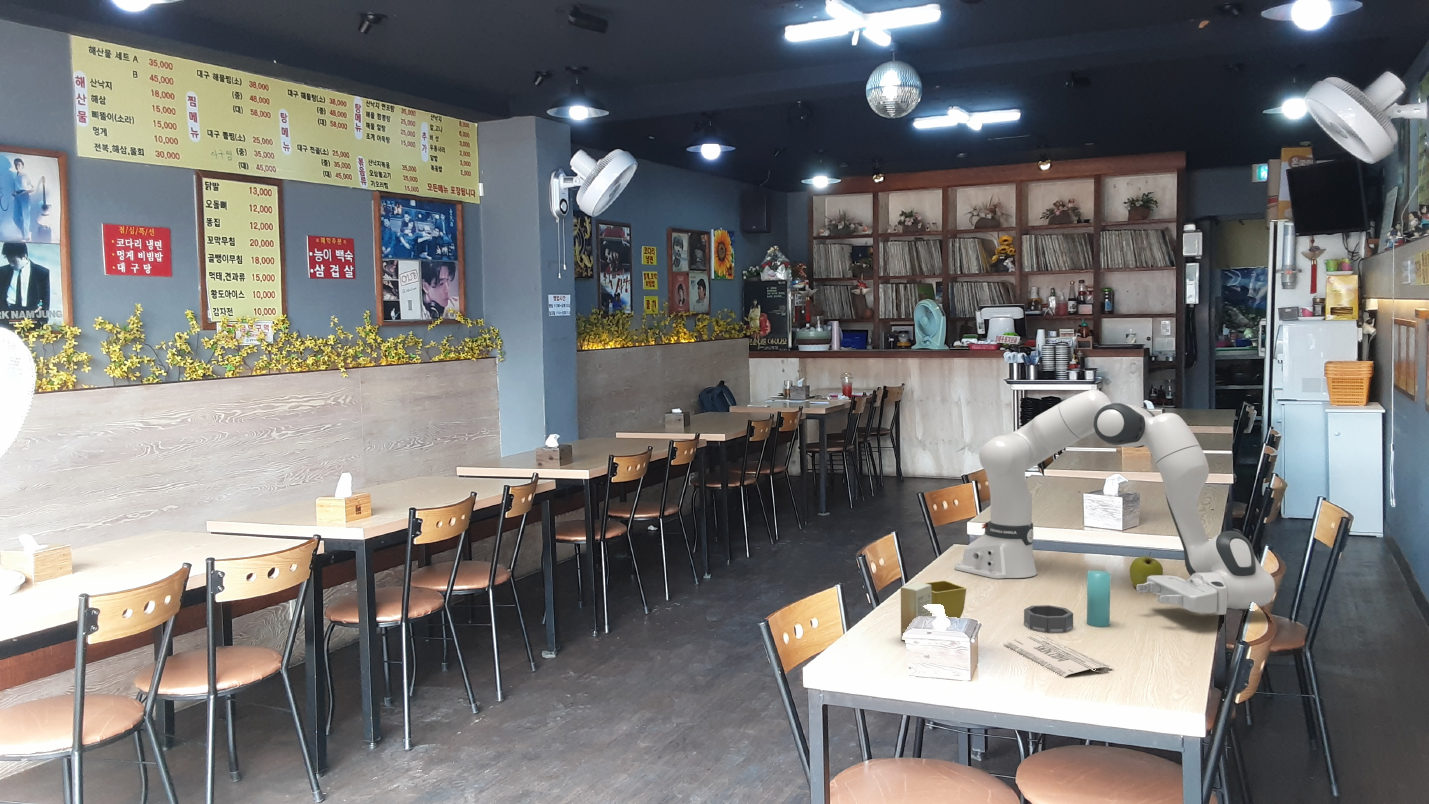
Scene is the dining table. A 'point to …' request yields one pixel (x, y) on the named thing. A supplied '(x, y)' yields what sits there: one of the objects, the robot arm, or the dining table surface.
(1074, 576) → the dining table surface
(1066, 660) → the newspaper
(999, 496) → the robot arm
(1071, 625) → the barrel ring
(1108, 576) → the teal pillar candle
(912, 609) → the skincare box
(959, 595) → the flower pot
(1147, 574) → the apple
